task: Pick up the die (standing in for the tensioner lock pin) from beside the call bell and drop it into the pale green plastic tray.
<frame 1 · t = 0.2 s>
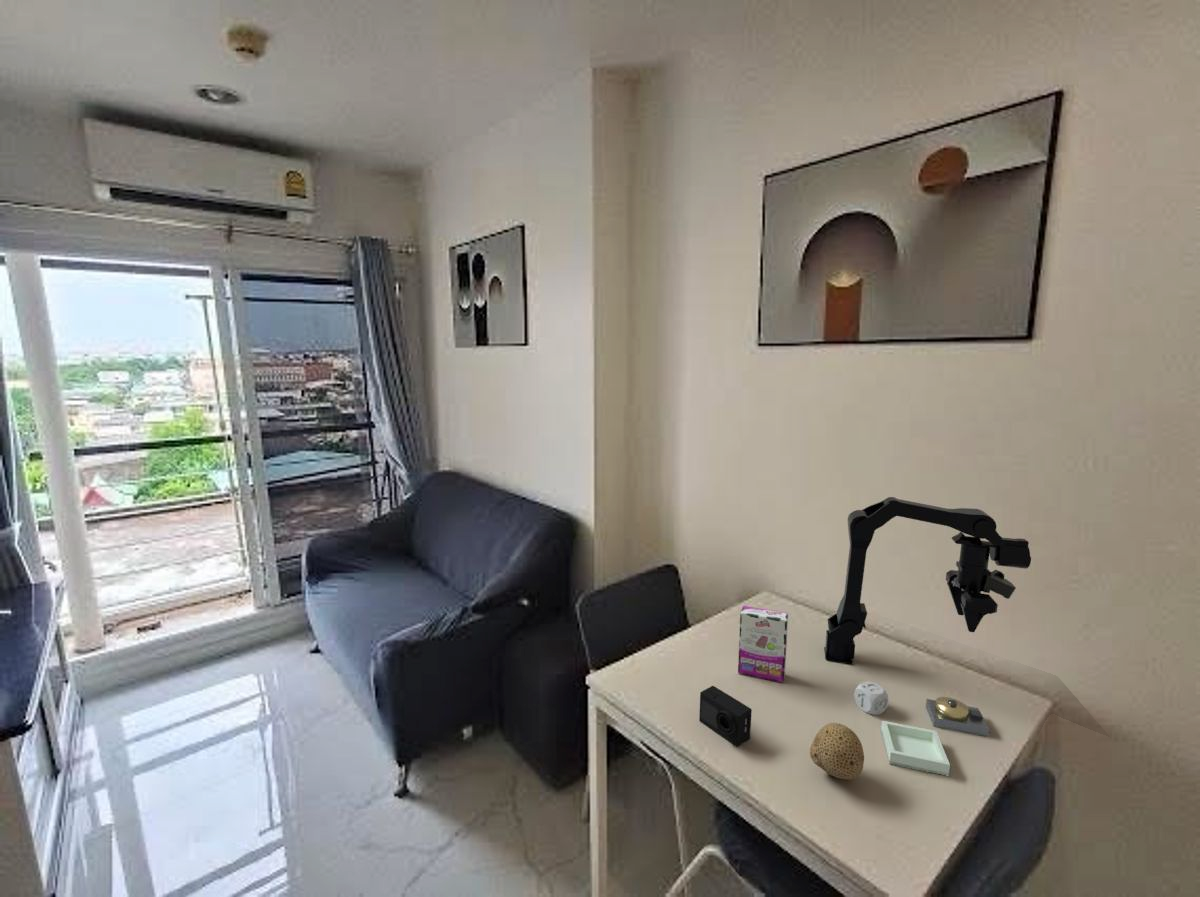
hand: (965, 623, 132), 14 cm above the table, fingers open, 9 cm apart
candy bar box: (761, 674, 135), on the table
die: (870, 708, 122), on the table
tray: (912, 752, 108), on the table
call bell: (955, 721, 118), on the table
digital camera: (721, 731, 114), on the table
natural sponge: (836, 777, 102), on the table
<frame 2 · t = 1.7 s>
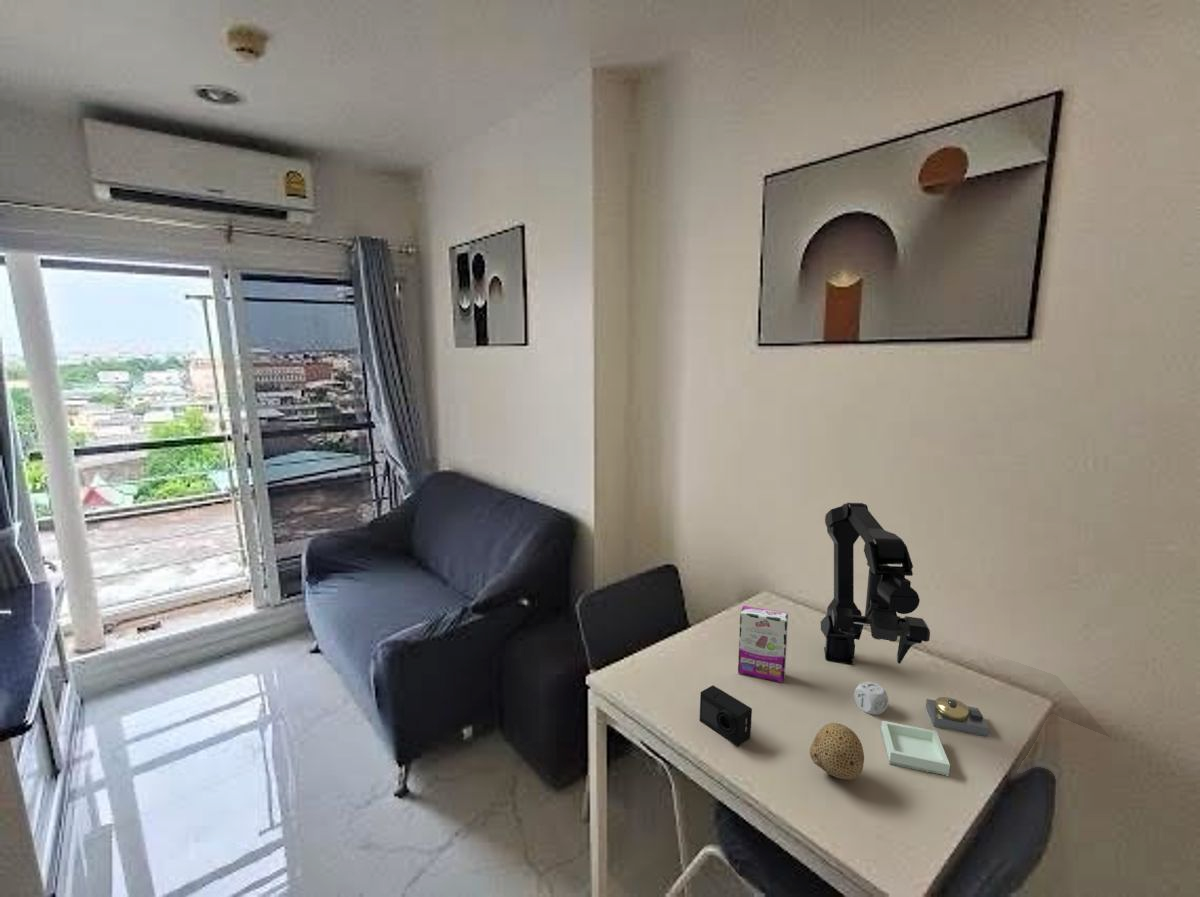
hand: (875, 659, 120), 12 cm above the table, fingers open, 9 cm apart
nothing on the table moved.
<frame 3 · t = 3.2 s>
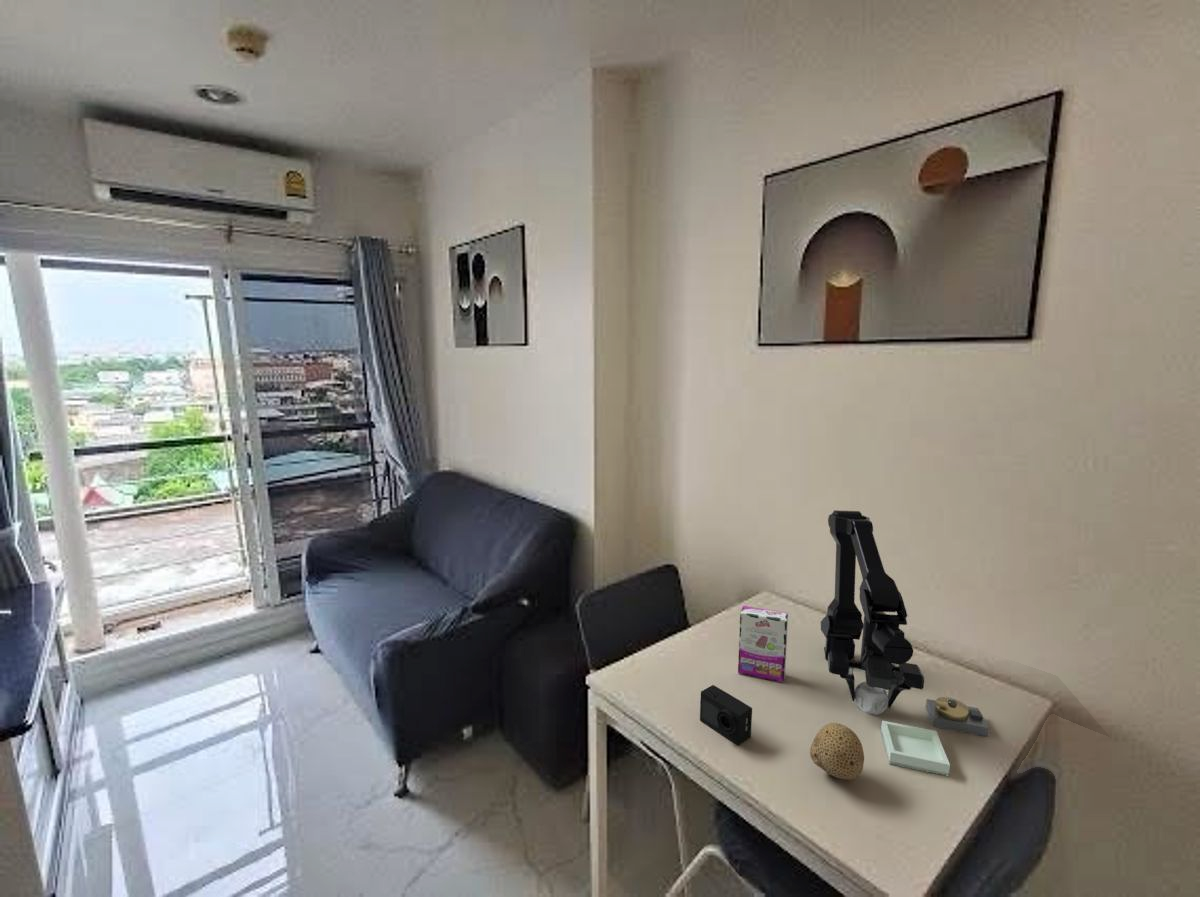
hand: (870, 703, 122), 1 cm above the table, fingers closed on die, 7 cm apart
die: (870, 708, 122), on the table, touching gripper
everything else where it was.
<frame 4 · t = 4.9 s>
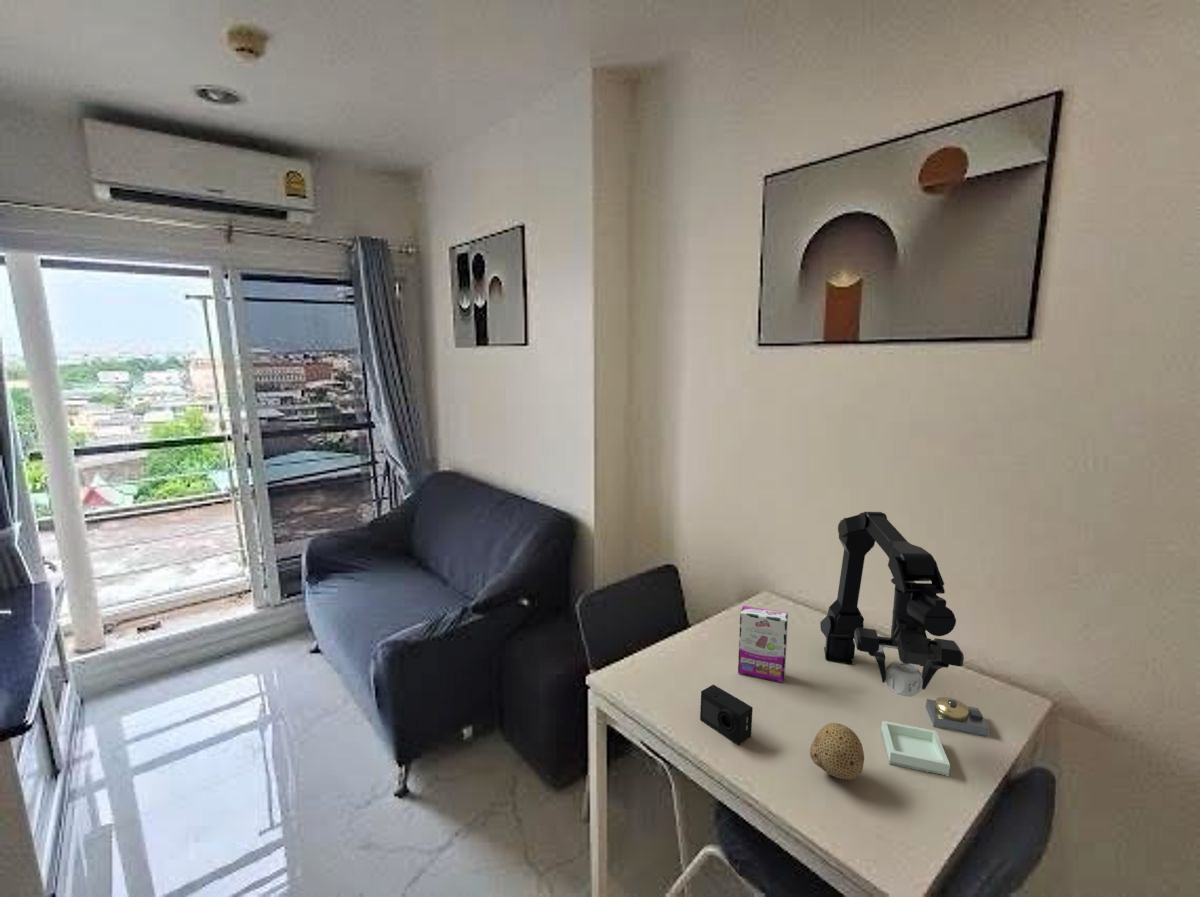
hand: (903, 685, 111), 12 cm above the table, fingers closed on die, 7 cm apart
die: (902, 690, 111), point 11 cm above the table, touching gripper
everything else where it was.
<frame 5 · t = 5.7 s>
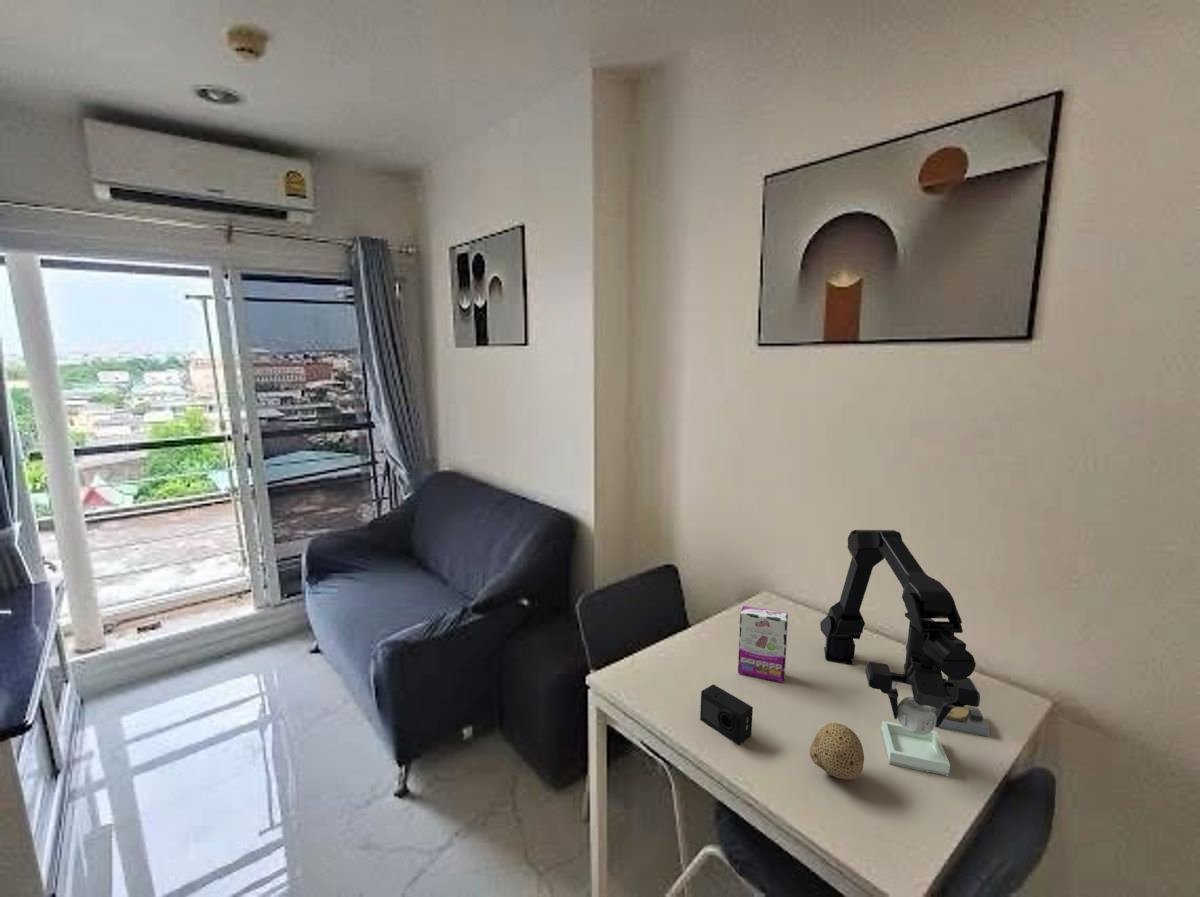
hand: (915, 722, 107), 7 cm above the table, fingers closed on die, 7 cm apart
die: (914, 727, 107), point 5 cm above the table, touching gripper
everything else where it was.
when the fingers open (4 cm above the table, at t = 6.5 s): die drops 2 cm, resting on tray.
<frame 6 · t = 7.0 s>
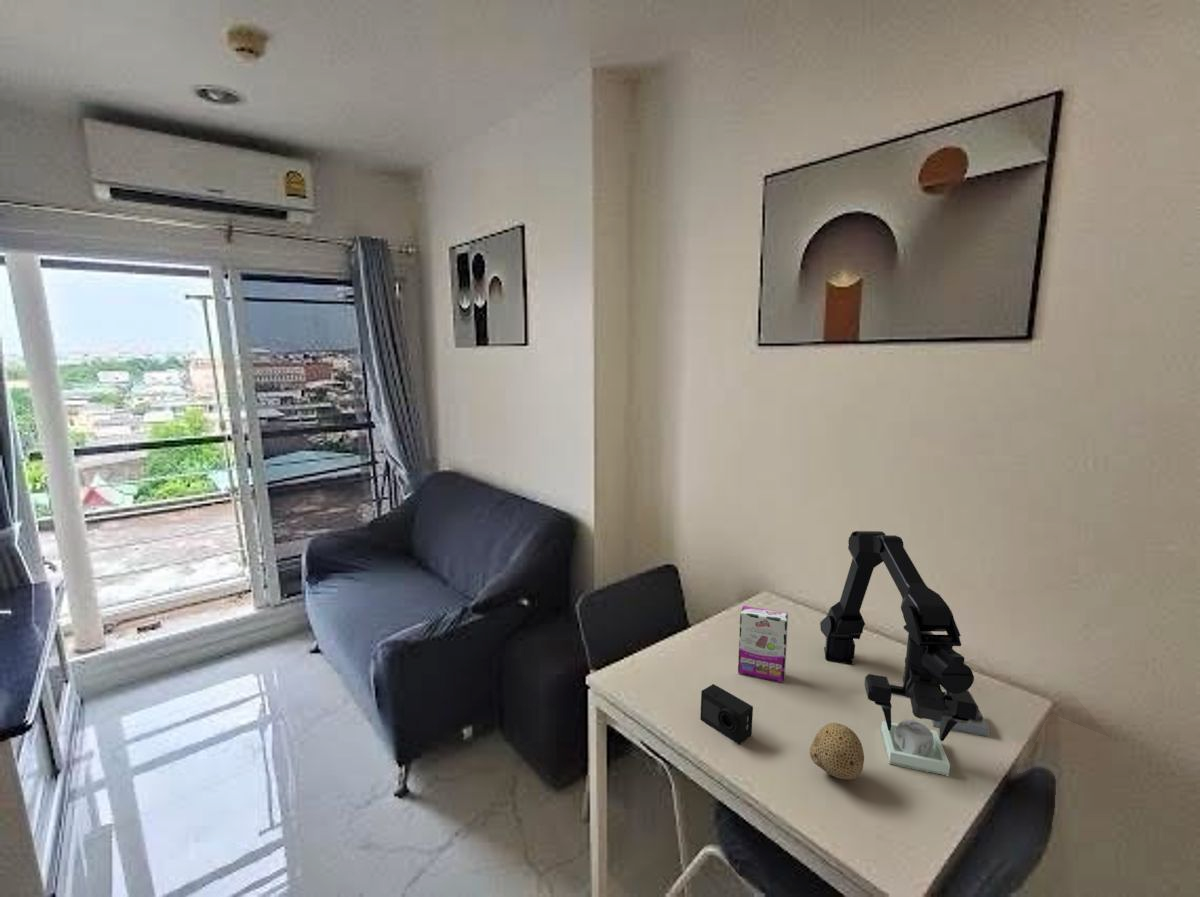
hand: (914, 734, 108), 4 cm above the table, fingers open, 9 cm apart
die: (912, 750, 108), resting on tray
everything else where it was.
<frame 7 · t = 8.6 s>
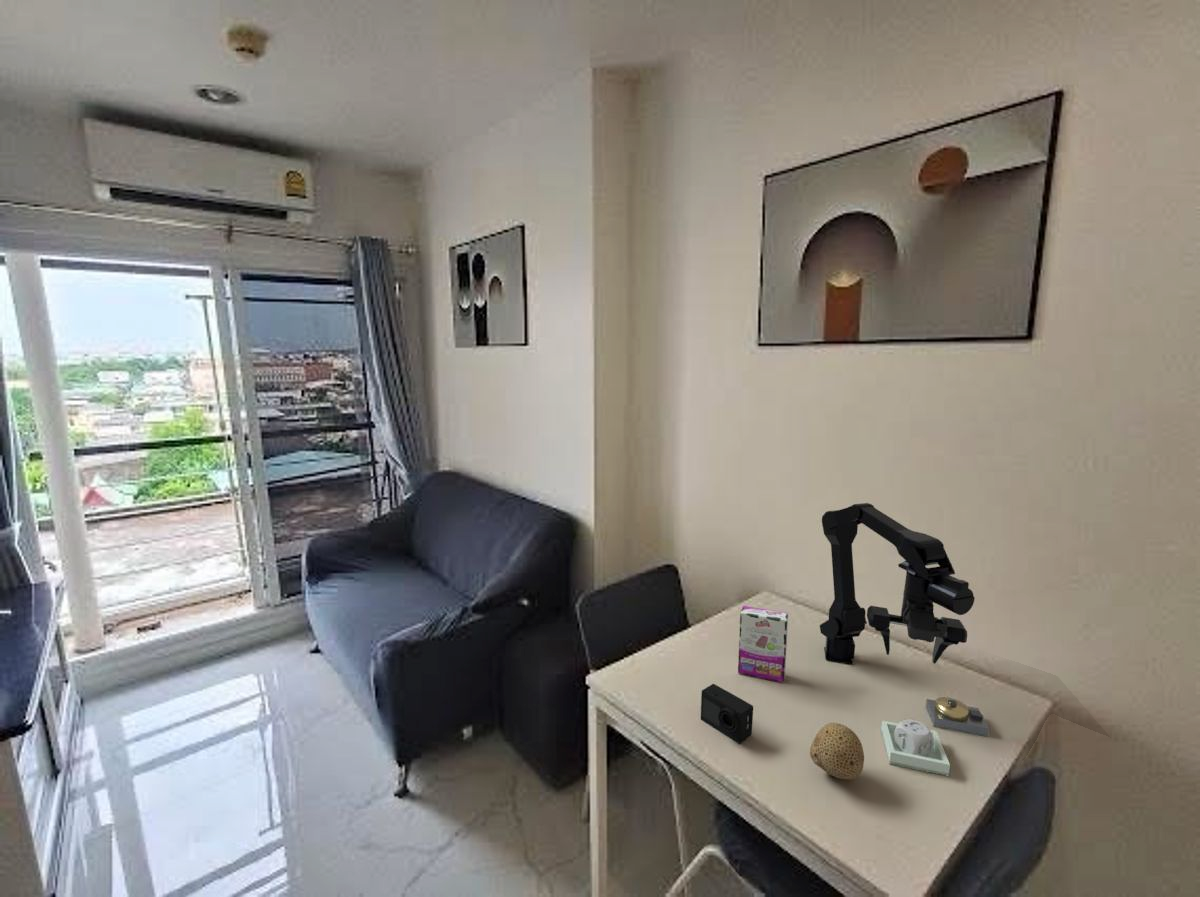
hand: (910, 658, 122), 11 cm above the table, fingers open, 9 cm apart
nothing on the table moved.
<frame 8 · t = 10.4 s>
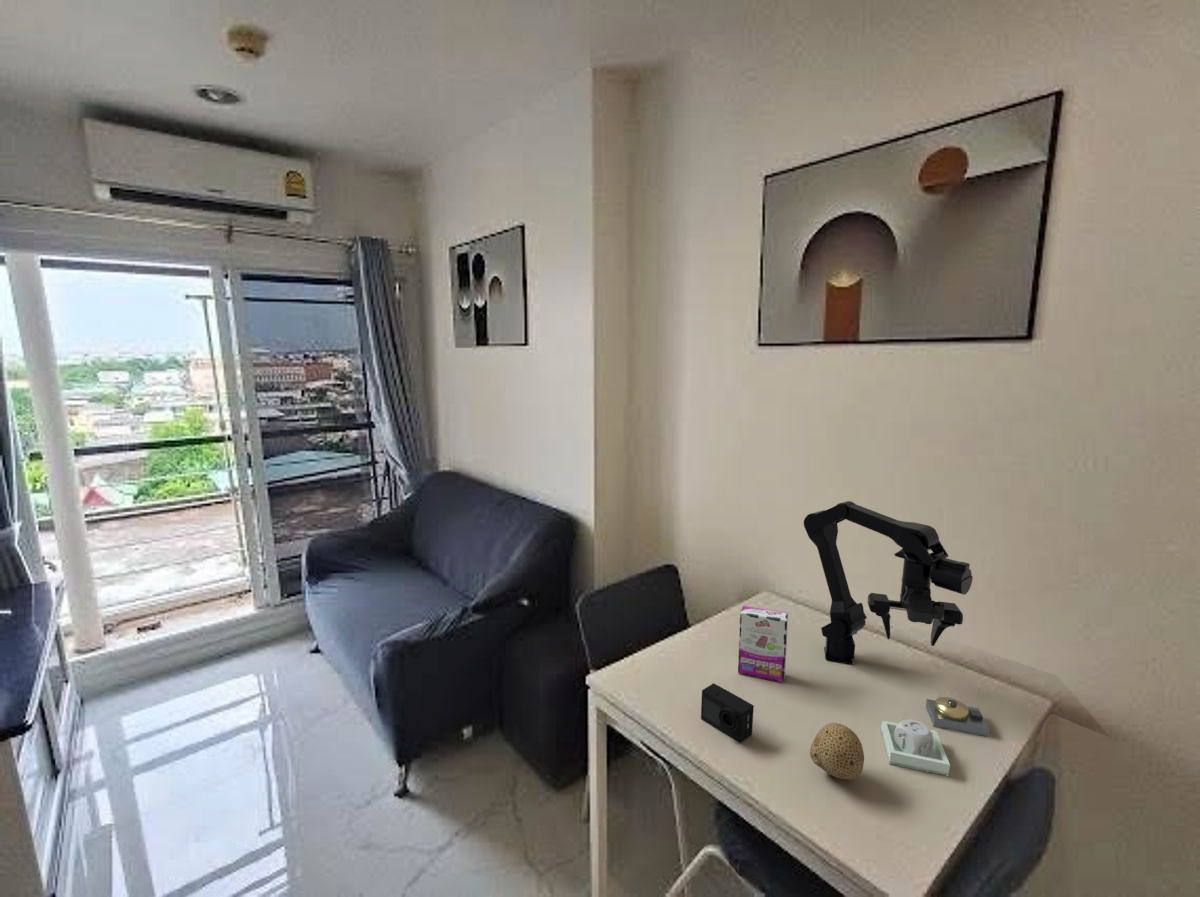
hand: (909, 641, 128), 12 cm above the table, fingers open, 9 cm apart
at the end: die inside the target area on the tray (0.1 cm from its centre), point 0.4 cm above the tray's base; the gripper is holding nothing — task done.
